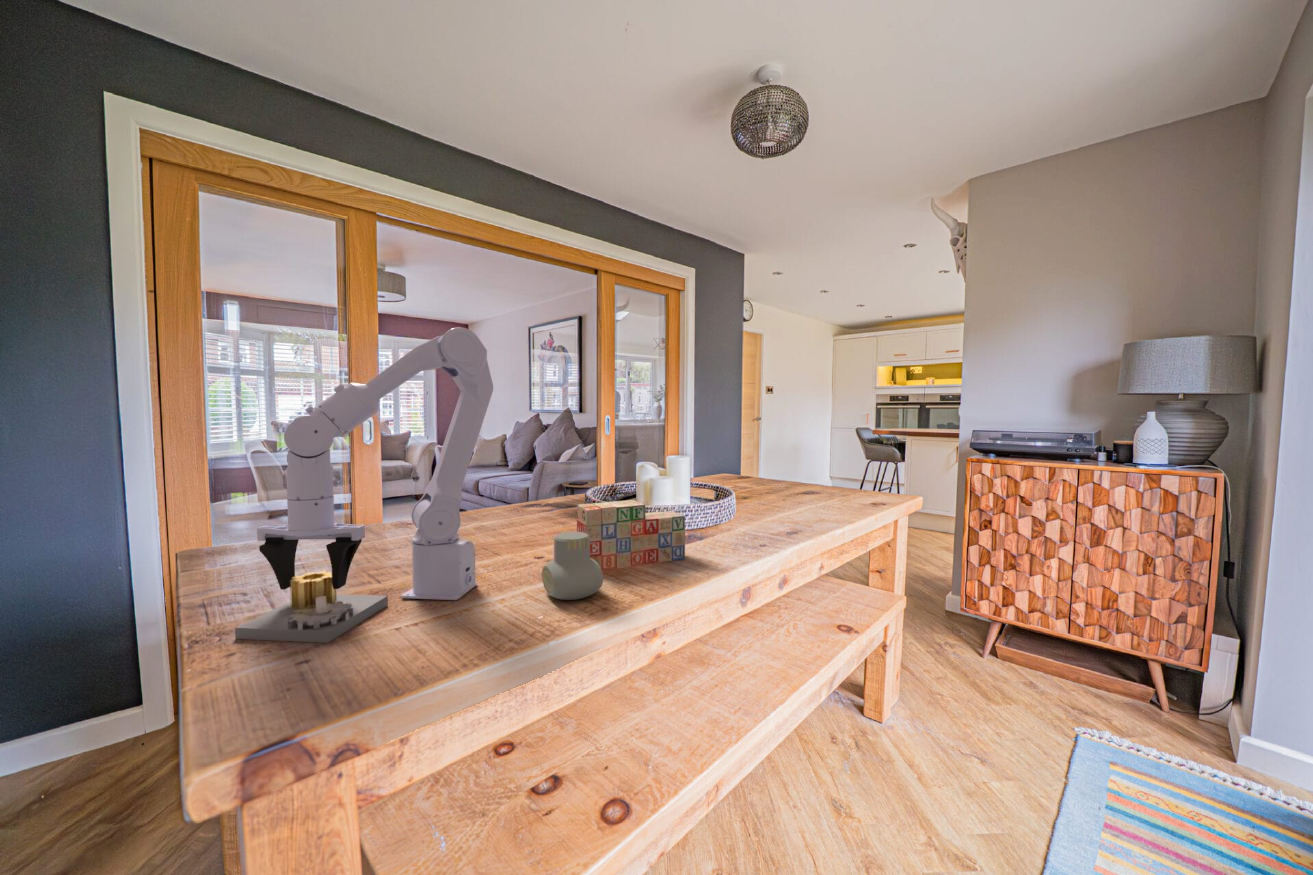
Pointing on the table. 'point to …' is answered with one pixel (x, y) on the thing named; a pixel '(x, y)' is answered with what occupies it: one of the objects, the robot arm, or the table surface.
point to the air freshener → (572, 568)
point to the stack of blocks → (631, 534)
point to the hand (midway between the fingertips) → (313, 586)
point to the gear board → (278, 628)
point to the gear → (320, 616)
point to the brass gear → (311, 589)
